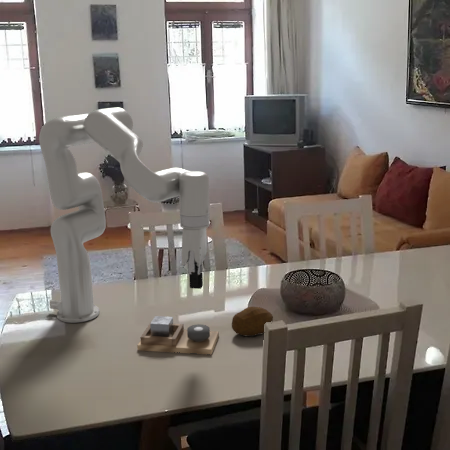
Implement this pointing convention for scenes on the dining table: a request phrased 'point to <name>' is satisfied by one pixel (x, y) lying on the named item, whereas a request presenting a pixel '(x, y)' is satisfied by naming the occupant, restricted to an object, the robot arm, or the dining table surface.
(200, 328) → the wheel
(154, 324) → the grey stone cube
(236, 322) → the potato
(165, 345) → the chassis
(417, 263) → the dining table surface
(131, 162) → the robot arm
